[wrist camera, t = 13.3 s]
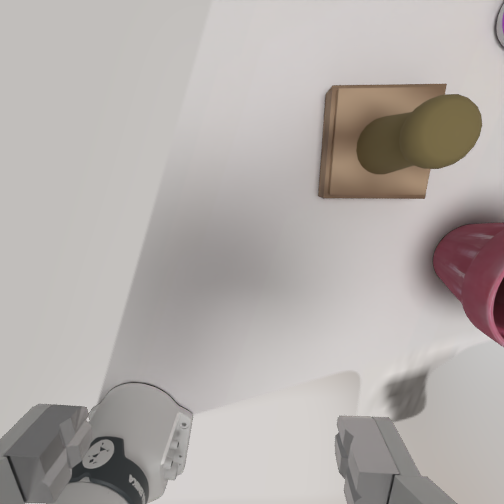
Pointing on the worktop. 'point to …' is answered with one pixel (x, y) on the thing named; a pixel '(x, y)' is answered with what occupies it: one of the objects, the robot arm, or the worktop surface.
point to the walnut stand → (347, 134)
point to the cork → (421, 136)
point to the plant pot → (475, 273)
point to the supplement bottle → (501, 25)
